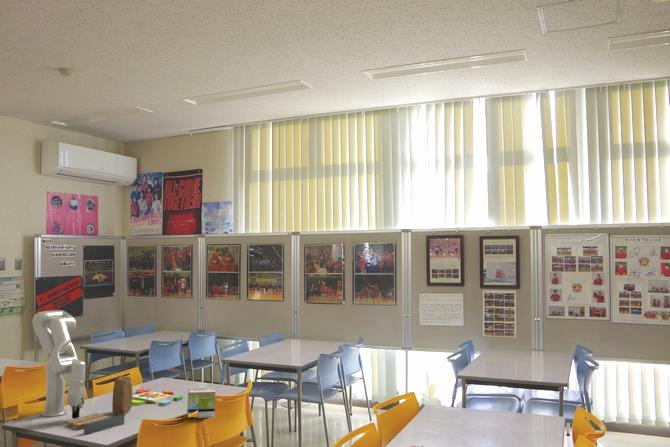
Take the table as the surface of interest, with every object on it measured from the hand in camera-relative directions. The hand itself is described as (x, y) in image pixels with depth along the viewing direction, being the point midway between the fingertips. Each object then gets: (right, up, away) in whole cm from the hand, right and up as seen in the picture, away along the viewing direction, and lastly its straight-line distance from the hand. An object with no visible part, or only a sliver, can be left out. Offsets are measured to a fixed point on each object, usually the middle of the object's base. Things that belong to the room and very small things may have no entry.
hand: (75, 417), depth 298 cm
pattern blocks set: (+26, -5, +47) cm, 54 cm away
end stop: (+22, -1, -14) cm, 26 cm away
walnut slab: (+10, -2, -6) cm, 12 cm away
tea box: (+66, -3, +11) cm, 67 cm away
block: (+19, -3, +16) cm, 25 cm away
